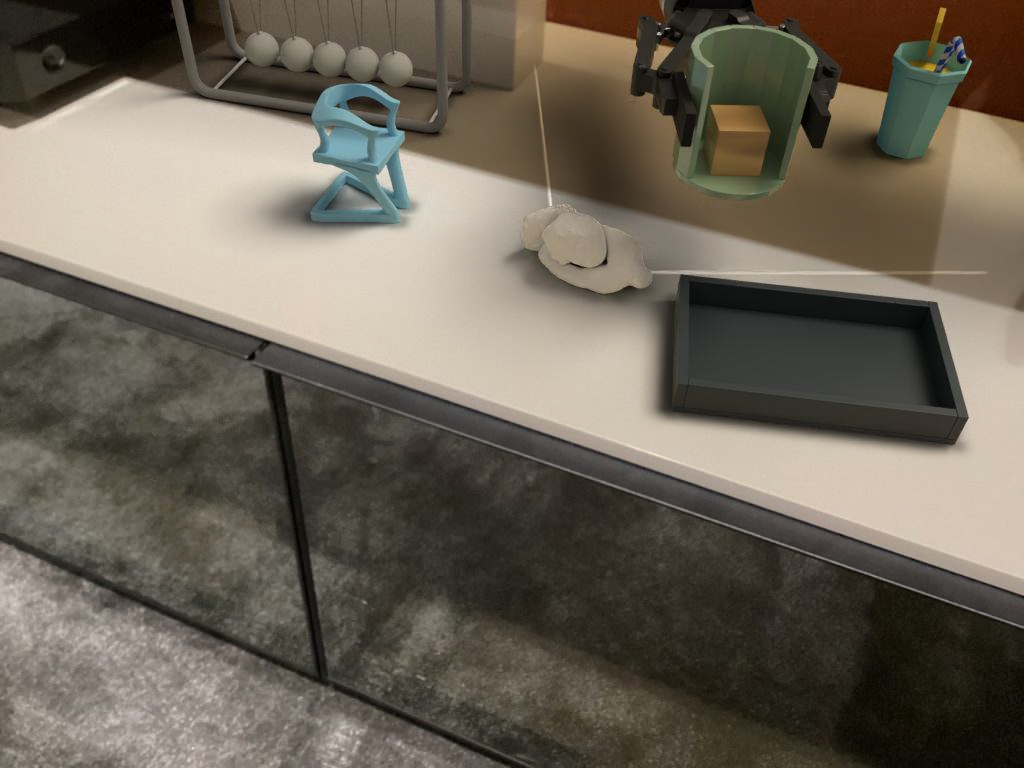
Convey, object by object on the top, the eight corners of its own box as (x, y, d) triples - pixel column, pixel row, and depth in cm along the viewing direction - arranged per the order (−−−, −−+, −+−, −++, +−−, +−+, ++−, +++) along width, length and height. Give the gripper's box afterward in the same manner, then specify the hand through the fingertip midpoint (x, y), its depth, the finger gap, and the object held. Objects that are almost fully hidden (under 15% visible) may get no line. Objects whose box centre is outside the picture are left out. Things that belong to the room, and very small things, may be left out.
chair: (390, 237, 90) (381, 122, 82) (309, 220, 92) (292, 106, 83) (419, 194, 96) (414, 81, 87) (342, 178, 97) (330, 66, 89)
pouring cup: (664, 138, 82) (683, 23, 74) (772, 139, 82) (800, 25, 75) (681, 200, 75) (703, 80, 68) (798, 201, 75) (831, 82, 68)
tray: (925, 329, 83) (937, 301, 81) (954, 445, 74) (969, 417, 71) (674, 301, 85) (680, 273, 83) (671, 411, 75) (677, 383, 73)
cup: (951, 193, 99) (1009, 54, 88) (874, 186, 99) (922, 47, 88) (925, 124, 108) (975, -8, 98) (856, 118, 109) (897, -14, 98)
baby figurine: (662, 303, 85) (631, 262, 78) (538, 317, 90) (498, 280, 83) (664, 216, 88) (634, 169, 81) (543, 234, 93) (505, 191, 86)
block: (701, 149, 79) (710, 104, 77) (749, 149, 80) (759, 105, 77) (710, 175, 77) (719, 130, 74) (759, 176, 77) (770, 131, 74)
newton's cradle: (190, 97, 108) (153, -68, 96) (231, 56, 115) (202, -103, 103) (446, 137, 103) (443, -30, 91) (473, 92, 111) (473, -69, 98)
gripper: (813, 44, 90) (886, 177, 74) (580, 40, 89) (602, 173, 73) (834, -38, 85) (918, 86, 69) (586, -43, 84) (613, 82, 68)
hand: (755, 131), depth 71 cm, fingers closed on pouring cup, 9 cm apart
